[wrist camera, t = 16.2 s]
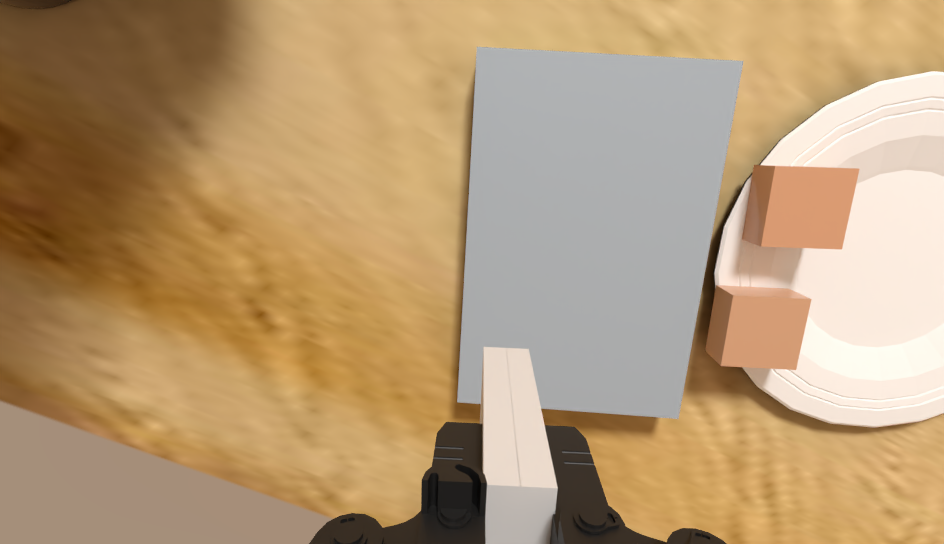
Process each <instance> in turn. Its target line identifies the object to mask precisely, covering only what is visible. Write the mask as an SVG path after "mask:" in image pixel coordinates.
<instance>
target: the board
mask: <svg viewBox="0 0 944 544" xmlns="http://www.w3.org/2000/svg"><path fill="white" fill-rule="evenodd" d="M742 66H743V61H732V60H713V59H694V58H676V57H657V56H638V55H619V54H601V53H582V52H563V51H544V50H526V49H507V48H488V47H477V56H476V74H475V92H474V110H473V128H472V146H471V164H470V182H469V200H468V218H467V236H466V254H465V272H464V290H463V308H462V326H461V344H460V362H459V380H458V398H457V402H460V403H474V404H481V389H482V369H483V349H484V347H499V348H521V349H529V353H530V358H531V362H532V367H533V372H534V377H535V382H536V387H537V391H538V396H539V401H540V406H541V409H554V410H567V411H581V412H594V413H607V414H621V415H634V416H647V417H661V418H674V419H678V418H679V413H680V407H681V401H682V396H683V390H684V385H685V379H686V374H687V368H688V363H689V357H690V352H691V346H692V341H693V335H694V330H695V324H696V319H697V313H698V308H699V302H700V297H701V291H702V286H703V280H704V275H705V269H706V264H707V258H708V253H709V247H710V242H711V236H712V231H713V225H714V220H715V214H716V209H717V203H718V198H719V192H720V187H721V181H722V176H723V170H724V165H725V159H726V154H727V148H728V143H729V137H730V132H731V126H732V121H733V115H734V110H735V104H736V99H737V93H738V88H739V82H740V77H741V71H742Z"/></svg>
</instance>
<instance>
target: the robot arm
mask: <svg viewBox="0 0 944 544" xmlns="http://www.w3.org/2000/svg"><path fill="white" fill-rule="evenodd" d="M69 1H71V0H0V3H4V4H7V5H11V6H16V7H21V8H47V7H53V6H57V5H61V4H64V3H66V2H69ZM309 544H726V543H725V542H724V541H723V540H721V539H719V538H718V537H716V536H714V535H712V534H710V533H708V532H705V531H701V530H698V529H691V528H682V529H679V530H677V531H674V532H672V534H671V535H670V537H669V538H668V540H667V542H663V541H660V540H657V539H653V538H650V537H647V536H644V535H641V534H639V533H636V532H634V531H632V530H631V529H629V528H627V527H626V526H625V524H624V522H623V520H622V519H621V517H620V515H619V514H618V513H617V512H616V511H615V510H613V509H612V508H611V507H610V506H608V503H607V500H606V497H605V494H604V491H603V488H602V485H601V482H600V479H599V476H598V473H597V471H596V468H595V465H594V462H593V459H592V456H591V454H590V450H589V447H588V444H587V441H586V438H585V437H584V436H583V435H582V434H581V433H580V432H579V431H578V430H577V429H576V428H575V427H568V426H547V425H544V420H543V415H542V411H541V406H540V401H539V396H538V391H537V387H536V382H535V377H534V372H533V367H532V362H531V358H530V353H529V349H521V348H499V347H484V349H483V369H482V389H481V409H480V424H477V423H456V422H446V423H445V424H444V425H443V427H442V428H441V429H440V430H439V431H438V433H437V437H436V444H435V450H434V457H433V463H432V467H431V468H430V469H428V470H427V471H426V472H425V474H424V476H423V479H422V506H421V511H420V512H419V513H418V514H417V515H416V516H415V517H414V518H412V519H410V520H408V521H406V522H404V523H401V524H398V525H394V526H390V527H385V528H382V526H381V525H380V524H379V523H378V522H377V521H376V519H374V518H372V517H370V516H368V515H365V514H355V513H351V514H347V515H342V516H339V517H337V518H335V519H333V520H331V521H329V522H327V523H326V524H325V525H324V526H323V527H322V528H321V529H320V530H319V531H318V532H317V534H316V535H315V536H314V538H313V539H312V541H311V542H310V543H309Z"/></svg>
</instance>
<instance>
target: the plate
mask: <svg viewBox="0 0 944 544" xmlns="http://www.w3.org/2000/svg"><path fill="white" fill-rule="evenodd" d="M759 165H773V166H807V167H837V168H858V169H859V174H858V179H857V183H856V188H855V192H854V197H853V201H852V206H851V210H850V215H849V220H848V224H847V229H846V233H845V238H844V242H843V247H842V249H814V248H787V247H761V246H758V245H755V244H753V243H750V242H747V241H744V240H742V235H743V229H744V223H745V217H746V211H747V205H748V199H749V193H750V187H751V180H752V174H753V173H752V174H751V175H750V176H749V178H748V179H747V180H746V181H745V183H744V185H743V187H742V189H741V191H740V193H739V195H738V197H737V199H736V201H735V203H734V205H733V207H732V209H731V211H730V213H729V215H728V218H727V220H726V222H725V224H724V226H723V229H722V234H721V239H720V244H719V248H718V253H717V258H716V263H715V268H714V287H715V289H716V285H725V286H746V287H767V288H788V289H791V290H793V291H795V292H797V293H799V294H802V295H804V296H806V297H808V298H810V299H812V300H811V304H810V309H809V313H808V318H807V322H806V327H805V332H804V336H803V341H802V345H801V350H800V354H799V359H798V364H797V368H796V370H787V369H768V368H749V367H742V368H743V369H744V371H745V372H746V373H747V375H748V376H749V377H750V378H751V380H752V381H753V382H754V383H755V385H756V386H757V387H759V388H760V389H761V390H763V391H764V392H766V393H767V394H769V395H770V396H772V397H773V398H774V399H776V400H777V401H779V402H780V403H782V404H783V405H784V406H786V407H787V408H789V409H790V410H793V411H796V412H799V413H801V414H804V415H807V416H810V417H813V418H816V419H818V420H821V421H824V422H827V423H830V424H840V425H851V426H862V427H873V428H875V427H883V426H890V425H898V424H905V423H913V422H920V421H923V420H926V419H929V418H932V417H935V416H938V415H940V414H943V413H944V72H936V71H932V72H927V73H922V74H916V75H911V76H906V77H901V78H895V79H890V80H885V81H880V82H876V83H873V84H871V85H869V86H867V87H865V88H862V89H860V90H858V91H856V92H854V93H851V94H849V95H847V96H845V97H843V98H840V99H838V100H836V101H834V102H832V103H829V104H827V105H825V106H823V107H822V108H821V109H819V110H818V111H817V112H816V113H814V114H813V115H812V116H810V117H809V118H808V119H806V120H805V121H804V122H802V123H801V124H800V125H799V126H797V127H796V128H795V129H793V130H792V131H791V132H789V133H788V134H787V135H786V136H784V137H783V138H782V139H780V140H779V141H778V143H777V144H776V145H775V146H774V147H773V149H772V150H771V151H770V152H769V153H768V155H767V156H766V157H765V158H764V159H763V161H762V162H761V163H760V164H759Z"/></svg>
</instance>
